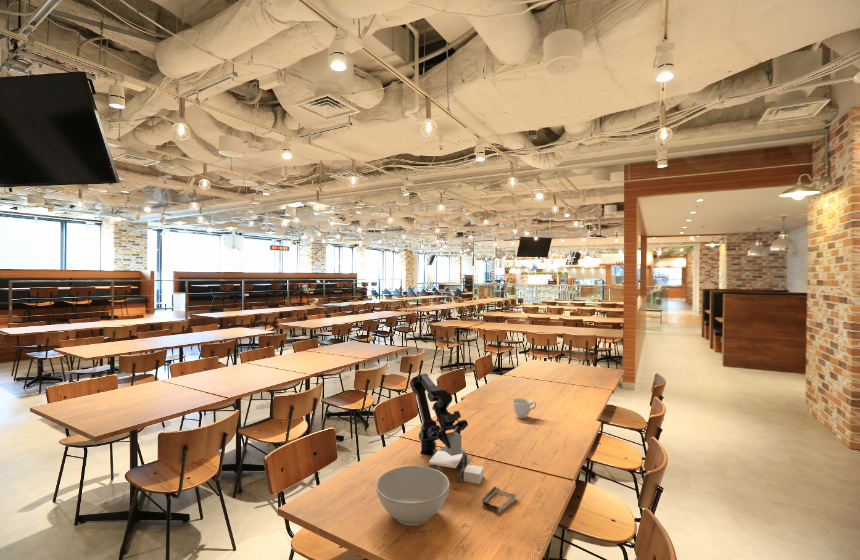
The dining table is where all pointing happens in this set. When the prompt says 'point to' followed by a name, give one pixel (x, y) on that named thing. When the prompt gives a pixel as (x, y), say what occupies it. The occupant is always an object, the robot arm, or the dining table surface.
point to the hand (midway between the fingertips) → (455, 446)
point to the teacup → (522, 407)
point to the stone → (454, 443)
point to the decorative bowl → (412, 493)
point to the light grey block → (473, 474)
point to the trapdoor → (447, 459)
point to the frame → (461, 473)
